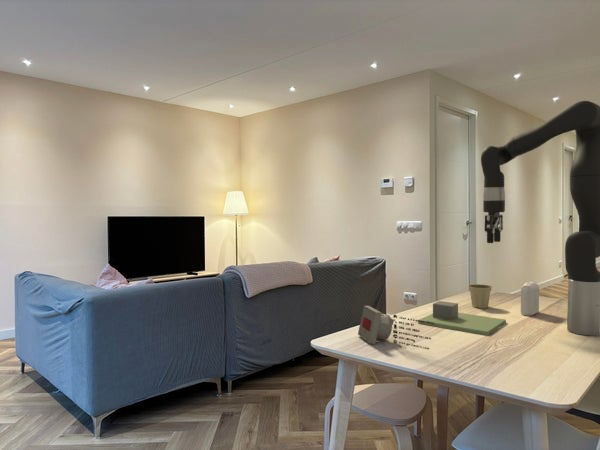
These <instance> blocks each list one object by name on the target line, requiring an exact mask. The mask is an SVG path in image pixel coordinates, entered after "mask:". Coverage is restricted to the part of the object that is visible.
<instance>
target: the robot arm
mask: <svg viewBox="0 0 600 450" xmlns="http://www.w3.org/2000/svg"><path fill="white" fill-rule="evenodd" d="M572 131H575V140H576V141H575V142H576V143H575V145H576V147H575V152H574V156H573V160H572V161H571V166H570V171H569V172H570V173H569V191H570V195H571V199H572V201H573V204H574V206H575V208H576V211H577V215H578V231H576V232H572V233H571V234H570V235H569V236H568V237H567V238H566V240H565V244H564V245H565V246H564V260H565V263H564V265H565V271H566V273H567V315H566V316H567V318H566V319H567V320H566V321H567V323H566V325H567V327H566V329H567V331H568V332H571V333H573V334H577V335H583V336H597V337H599V336H600V271H599V269H598V268H597V258H599V257H600V105H599V104H597V103H595V102H592V101H589V100H581V101H577V102H575V103H574V104H572V105H570V106H569V107H567V108H565V109H564V110H563V111H561V112H559V113H558V114H556V115H555V116H553V117H551V118H550V119H548V120H546V121H545V122H542V123H541V124H538V125H537V126H534V127H532V128H530V129H529V130H527V131H524V132H522V133H519V134H518V135H515V136H512V137H510V139H508V140H507V142H506V143H505V144H503V145H500V146H493V145H490V146H487V147H485V148H484V149H483V150H482V153H481V155H480V164H481V169H482V173H483V177H484V179H483V181H484V182H483V197H482V198H483V202H482V204H483V205H482V206H483V208H482V210H483V213H488V214H485V215H484V228H483V229H484V232H486V242H487V244H494V242H495V243H500V242H501V234H502V233H501V232H502V231H503V229H504V226H503V223H504V221H503V217H504V216H503V214H500V213H504V212H505V211H506V191H505V175H504V172H502V171H501V166H502V165H503V166H504V165H505V164H507V163H509V162H511V161H513V160H514V159H516V158H517V157H519V156H522V155H524V154H526V153H529V152H531V151H534V150H535V149H537V148H539V147H541V146H543V145H544V144H546V143H547V142H548V141H550V140H551V139H553V138H555V137H557V136H560V135H562V134H566V133H568V132H572Z"/></svg>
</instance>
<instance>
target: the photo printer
mask: <svg viewBox="0 0 600 450" xmlns="http://www.w3.org/2000/svg"><path fill="white" fill-rule="evenodd" d="M520 289H521V290H520V314H521V315H522V316H527V317H529V316H533V315H536V314H538V313H539V312H540V286H539V284H538V283H537V282H536V281H527V282H525V283H524V284H523V285H522V286H521V288H520Z"/></svg>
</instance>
